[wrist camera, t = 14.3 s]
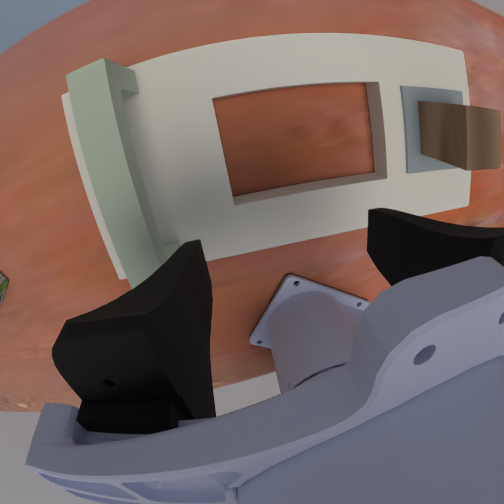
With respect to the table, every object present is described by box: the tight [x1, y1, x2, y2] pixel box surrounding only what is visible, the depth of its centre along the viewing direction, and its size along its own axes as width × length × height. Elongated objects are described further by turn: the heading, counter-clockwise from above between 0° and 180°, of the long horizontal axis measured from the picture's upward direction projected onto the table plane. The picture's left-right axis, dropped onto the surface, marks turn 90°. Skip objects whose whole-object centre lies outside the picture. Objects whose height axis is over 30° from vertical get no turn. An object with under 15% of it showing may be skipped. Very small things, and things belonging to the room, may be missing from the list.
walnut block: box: [417, 101, 501, 171], centre depth 15 cm, size 4×4×5 cm
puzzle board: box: [61, 33, 471, 280], centre depth 18 cm, size 30×14×2 cm, turn 100°
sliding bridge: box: [66, 58, 180, 289], centre depth 14 cm, size 2×13×5 cm, turn 10°
